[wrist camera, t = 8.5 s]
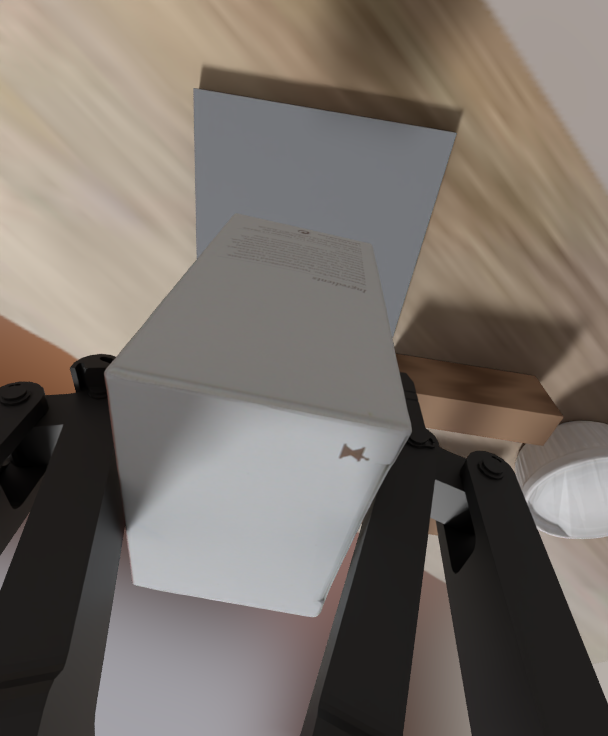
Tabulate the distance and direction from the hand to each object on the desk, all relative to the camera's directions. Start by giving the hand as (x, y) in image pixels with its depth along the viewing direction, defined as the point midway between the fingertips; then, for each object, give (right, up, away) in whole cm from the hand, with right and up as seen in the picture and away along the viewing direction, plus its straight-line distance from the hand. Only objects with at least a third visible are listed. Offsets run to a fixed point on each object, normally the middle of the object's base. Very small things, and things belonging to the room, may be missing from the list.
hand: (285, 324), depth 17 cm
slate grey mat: (+1, +7, +10) cm, 13 cm away
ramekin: (+26, -10, +20) cm, 34 cm away
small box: (0, +1, +1) cm, 1 cm away
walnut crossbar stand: (+13, -8, +20) cm, 25 cm away
